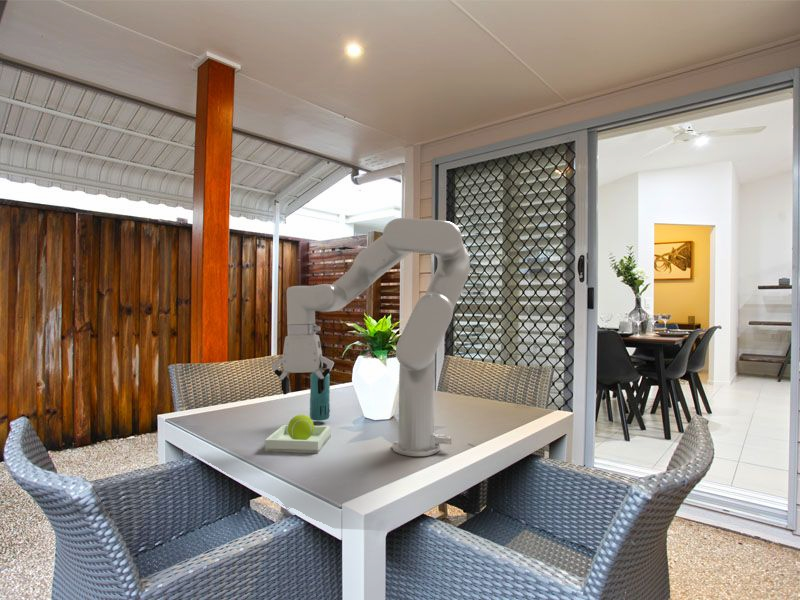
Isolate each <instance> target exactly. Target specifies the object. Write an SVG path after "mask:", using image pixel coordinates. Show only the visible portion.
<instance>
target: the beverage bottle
mask: <svg viewBox="0 0 800 600" xmlns="http://www.w3.org/2000/svg"><path fill="white" fill-rule="evenodd" d="M326 368H327V364H325V363H323V366H322V368H321V369H326ZM330 375H331V374H330V372H329V373H328V375H327V376H326V377H325V390H323V392H322V393H321V394H319V393H318V379H319V377H318V376H317V374H316V373H315V372H311V374H310V375H309V376H310V388H309V389H310V390H309V392H310V393H309V394H310V398H309V418H310V419H311V420H312V421H317V422H318V421H325V420H329V419H330V414H331V409H330V401H331V400H330V394H331V391H330V388H331V386H330V384H331V381H330V380H331V379H330V377H331V376H330Z"/></svg>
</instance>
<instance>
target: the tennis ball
mask: <svg viewBox="0 0 800 600" xmlns="http://www.w3.org/2000/svg"><path fill="white" fill-rule="evenodd" d="M313 421H314V420H311V419H310V416H308V415H305V414H298V415H295V416H293V417H292V418H291V419H290V420H289V422H288V424H287V425H288V433H289V436H290V437H291V438H292V439H294V440H307V439H308V438H309V437H311V435H312V433H313V430H314V426H315V425H314V422H313Z"/></svg>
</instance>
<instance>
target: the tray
mask: <svg viewBox="0 0 800 600" xmlns="http://www.w3.org/2000/svg"><path fill="white" fill-rule="evenodd" d="M331 432H332V426H331V425H314V430H313V433H312V435H311V437H309V438H308V439H307V440H294V439H292V438H291V437H290V436H289V433H288V424H282V425H281V426H280V427H279V428H278V429H277V430H275V431H274V432H273V433H271V434H270V435H269V436H268V437H267V438H266V439H265V440H264V452H270V453H271V452H273V453H275V452H277V453H295V454H299V453H302V454H303V453H304V454H319V453H320V451H321V450H322V448H323V447H324V446H325V445H326V444H327V443H328V441H329V439H330V438H331V437H332V436H331V435H332V433H331Z"/></svg>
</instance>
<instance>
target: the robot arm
mask: <svg viewBox="0 0 800 600" xmlns="http://www.w3.org/2000/svg"><path fill="white" fill-rule="evenodd" d="M382 231H383V232H382V235H381V236H378V238H377V239H375V240H374V241H373V242H371V243H370V244H369V245H368V246H367V247H365V248H364V249H363V250H361V251H360V252H359V253H357V255H356V257H355V258H354V261H353V264H352V265H351V267H350V268H349V269H348V270H347V271H346V272H345V273H344V274H343V275H342V276H341V277H339V278H338V279H337V280H335V281H334V282H333V283H331V284H330V283H329V284H328V283H321V284H320V283H319V284H316V285H310V286H309V285H295V286H294V285H292V286H289V287H287V289H286V318H287V319H286V320H287V321H286V325H287V335H286V336H285V338H284V342H283V351H282V353H283V354H282V357H281V358H279V359H277V360H276V361H274V362H272V363H271V368H272V370H273V371H274V374H275V375H276V376H277V377H278V378H279V380H281V381H280V382H281V383H280V384H281V385H280V387H281V392H282V394H283V395H287V394H289V393H290V379H289V377H288V376H289V375H290V374H292V373H293V374H296V373H299V374H301V373H313V372H315V373H316V374H317V376H318V377H319V379H318V393H319V394H321V393H322V392H323V390H325V377H326V376H327V375H328V373H329V374H330V372H332V369H333V367H334V366H335V365H334V364H335V362H334V361H333V360H331V359H329V358H327V357H325V356H323V353H322V345H321V339H320V335H318V334H317V333H318V332H321V326H320V325H317V324H316V312H321V313H328V312H337V311H340V310H342V309H344V307H346V306H347V305H348V304H350V303H351V302H353V301H354V300H356V299H357V298H358V297H359V296H360V295H361V294H362V293H364V292H365V291H366V290H367V289H368V288H369V287H371V285H373V284H374V283H375V282H376V281H377V280H379V278H380V277H382V276H383V275H385V273H388V271H389V270H391V269H392V268H394V267H395V266H396V265H397V264H398V263H400V262H401V261H402V260H403V259H404V260H405V258H406V257H408V256H409V255H410V254H411V253H417V254H428V255H429V254H431V255H434V256H435V257H436V258H437V262H438V263H437V268H436V271H435V272H434V274H433V277H432V279H431V280H430V281H431V282H430V283H429V286H428V287H427V289H426V291H425V293H424V295H422V296H421V297H420V298H419V299H418V301H417V302H416V304H415V306H414V307H413V309H412V311H411V314H410V316H409V317H408V320H407V322H406V324H405V326H404V328H403V330H402V333H401V335H400V336H399V339H398V341H397V344H396V347H395V356H396V359H397V361H398V363H399V371H398V373H399V374H398V376H399V377H398V383H399V384H398V432H397V433H398V439H397V440H395V441H393V442H392V450H393V451H394V452H395V453H397V454H399V455H404V456H407V457H426V456H432V455H435V454H437V453H439V451H441V450H440V449H441V445H452V436H447V434H438V433H436V429H435V390H436V387H435V386H436V383H435V382H436V379H435V378H436V353H437V351H438V349H439V346H440V345H441V343H442V342H443V341H442V340H443V339H444V336H445V334H446V332H447V330H448V328H449V326H450V324H451V321H452V320H453V315H454V310H455V308H456V304H457V303H458V300H459V298H460V296H461V294H462V291H463V288H464V287H465V285H466V283H467V279H468V277H469V273H470V269H471V268H470V266H471V265H470V263H471V262H470V256H469V252H468V249H467V248H466V246H465V244H464V243H463V235H462V232H461V230H460V228H459V227H458V226H457V225H456V224H455V223H453V222H451V221H447V220H443V219H441V220H439V219H427V218H426V219H425V218H410V217H407V218H406V217H400V218H399V217H398V218H394V219H392V220H390V221H389V222H388V223H387V224H385V226H384V229H383V230H382ZM323 363H325V364H326V365H327V367H326V368H325V370H323V368H322V366H323ZM281 364H282V368H283V369H280V367H279V365H281Z"/></svg>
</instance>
